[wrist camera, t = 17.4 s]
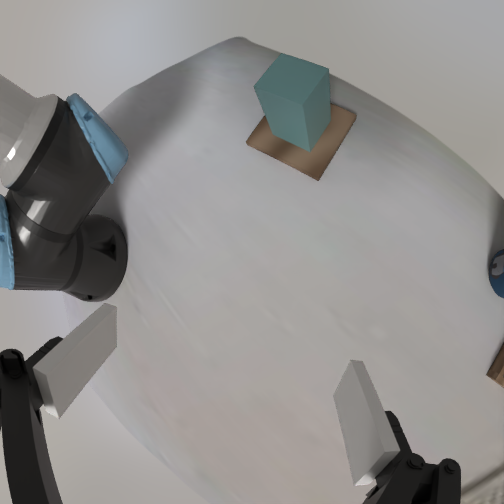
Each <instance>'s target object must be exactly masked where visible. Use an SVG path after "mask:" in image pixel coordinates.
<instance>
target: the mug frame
mask: <svg viewBox="0 0 504 504" xmlns="http://www.w3.org/2000/svg"><path fill="white" fill-rule="evenodd" d="M503 375H504V344H503V346H502V348H501V350H500V352H499V354H498V356H497V357H496V359H495V361H494V363H493V365H492V366H491V368H490V370H489V371H488V373H487V376H488V377H490V378H491V379H492V380H494V381H495V382H496V383H498V384H499V385H501V386H502V387H503V388H504V377H503Z"/></svg>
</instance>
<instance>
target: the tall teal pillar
mask: <svg viewBox="0 0 504 504" xmlns="http://www.w3.org/2000/svg"><path fill="white" fill-rule="evenodd" d="M254 89H255V92H256V94H257V96H258V99H259V101H260V104H261V106H262V109H263V111H264V113H265V116H266V118H267V121H268V124H269V126H270V129H271V131H272V134H273V135H275V136H277V137H279V138H281V139H283V140H285V141H288V142H290V143H292V144H294V145H296V146H298V147H300V148H302V149H304V150H306V151H308V152H311V151H312V149H313V148H314V146H315V144H316V143H317V141H318V140H319V138H320V137H321V135H322V134H323V132H324V130H325V129H326V127H327V126H328V124H329V123H330V121H331V107H330V81H329V69H328V68H325V67H323V66H320V65H317V64H314V63H311V62H308V61H305V60H302V59H299V58H296V57H293V56H290V55H286V54H283V53H281V54H280V55H279V57H278V58H277V59H276V60H275V61H274V62H273V64H272V65H271V66H270V67H269V68H268V70H267V71H266V72H265V73H264V74H263V76H262V77H261V78H260V79H259V80H258V82H257V83H256V84H255V85H254Z"/></svg>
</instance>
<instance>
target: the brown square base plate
mask: <svg viewBox="0 0 504 504" xmlns="http://www.w3.org/2000/svg"><path fill="white" fill-rule="evenodd" d="M330 107H331V121H330V123H329V124H328V126H327V127H326V129H325V130H324V132H323V134H322V135H321V137H320V138H319V140H318V141H317V143H316V144H315V146H314V148H313V149H312V151H311V152H308V151H306V150H304V149H302V148H300V147H298V146H296V145H294V144H292V143H290V142H288V141H285V140H283V139H281V138H279V137H277V136H275V135H273V134H272V131H271V129H270V126H269V124H268V121H267V118H266V116H264V117H263V119H262V120H261V121H260V123H259V124H258V125H257V127H256V128H255V130H254V131H253V132H252V134H251V135H250V137H249V138H248V140H247V141H246V143H247V145H248V146H251V147H253V148H255V149H257V150H259V151H261V152H263V153H265V154H267V155H269V156H271V157H273V158H275V159H277V160H279V161H281V162H283V163H285V164H287V165H289V166H291V167H293V168H295V169H297V170H299V171H301V172H303V173H304V174H306V175H308V176H310V177H312V178H314V179H316V180H317V181H319V179H320V178H321V176H322V174H323V173H324V171H325V169H326V168H327V166H328V165H329V163H330V161H331V160H332V158H333V156H334V155H335V153H336V151H337V150H338V148H339V146H340V145H341V143H342V142H343V140H344V138H345V137H346V135H347V133H348V132H349V130H350V128H351V127H352V125H353V123H354V122H355V120H356V117H357V115H355V114H353V113H351V112H349V111H347V110H345V109H343V108H340V107H338V106H336V105H334V104H332V103H330Z"/></svg>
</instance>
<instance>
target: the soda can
mask: <svg viewBox="0 0 504 504" xmlns="http://www.w3.org/2000/svg"><path fill="white" fill-rule="evenodd" d="M489 280H490V283H491V286H492V288H493V290H494V291H495V293H496V294H497V295H498V296H500V297H502V298H504V249H503V250H501V251H499V252H498V253H497V254H496V255H495V256H494V258H493V260H492V262H491V265H490V269H489Z"/></svg>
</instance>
